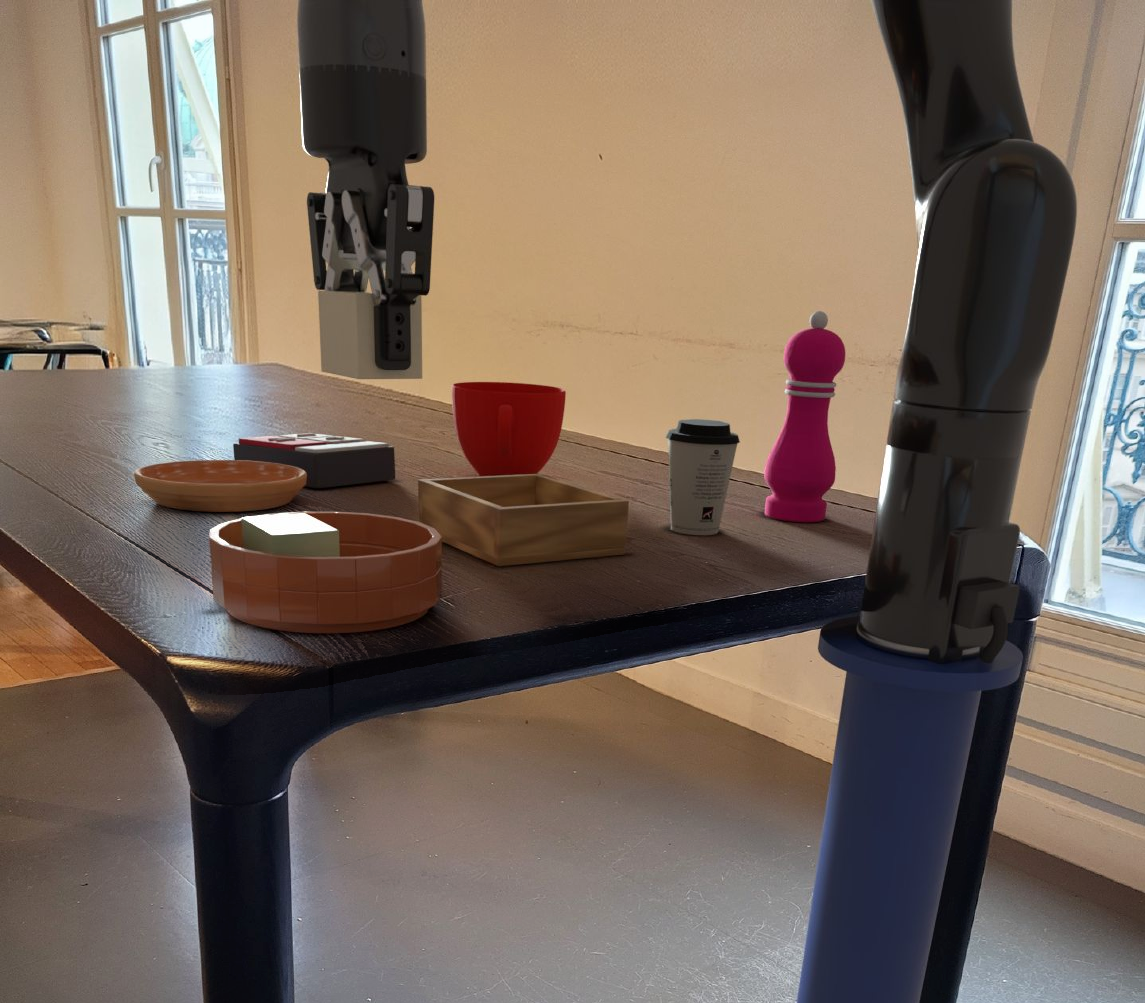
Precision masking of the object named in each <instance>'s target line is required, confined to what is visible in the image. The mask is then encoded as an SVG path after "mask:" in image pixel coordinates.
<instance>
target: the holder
mask: <svg viewBox="0 0 1145 1003" xmlns="http://www.w3.org/2000/svg"><path fill="white" fill-rule="evenodd" d="M417 504H418V505H417V522H420V523H423V524H425V525H427V526H430V527H432V528H434V529H436V530H437V531H438V533H439V534H440V535H441V537H442V543H444V544H447V545H449V546H451V547H453V548H456V549H458V550H460V551H463V552H465V553H467V554H469V555H472V556H474V557H475V558H478V559H481V560H483V561H485V562H487V563H489V564H491V565H494V566H496V567H506V566H508V567H509V566H519V565H528V564H529V565H531V564H539V563H550V562H558V561H559V562H560V561H570V560H580V559H581V560H582V559H591V558H601V557H611V556H612V557H613V556H623V555H625V554H626V546H627V531H628V520H629V519H628V516H629V500H627V499H623V498H620V497H617V496H614V495H610V494H607V493H604V492H600V491H598V490H594V489H591V488H587V487H584V486H581V485H578V484H574V483H572V482H568V481H564V480H560V479H557V478H554V477H551V476H547V475H544V474H541V473H537V474H522V475H501V476H481V477H479V476H463V477H444V478H421V479H417Z"/></svg>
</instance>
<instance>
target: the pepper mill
mask: <svg viewBox="0 0 1145 1003" xmlns="http://www.w3.org/2000/svg"><path fill="white" fill-rule="evenodd" d="M828 322H829V318H828V315H827V314H826V313H825V312H824V311H821V310H818V311H815V312H813V313H812V314H811V315H810V317H809V325H810V327H809V328H805V329H801V330H800V331H799V330H798V331H797V332H795V333H794V334H793V335H792V336H791V337H790V338H789V339H788V341H787V343H786V345H785V348H784V351H783V365H784V368H785V370H786V371H787V373H788V374H789V378H788V379H786V380H785V384H786V386H785V390H784V394H786V395H787V408H786V414H785V419H784V422H783V425H782V428H781V431H780V432H779V434H778V436H777V438H776V440H775V442H774V444H773V447H772V448H771V450H770V451H769V454H768V457H767V459H766V462H765V468H764V472H763V473H764V474H763V475H764V476H763V477H764V481H765V483H766V485H767V486H768V487H769V489H770V491H771V493H772V494H771V495H768V496H767V497H766V498H765V506H764V515H765V516H766V517H768V518H770V519H774V520H778V521H784V522H785V521H786V522H792V523H818V522H822V521H824V520H825V519H826V515H827V514H826V513H827V507H828V502H827V501H826V500H825V499H823V497H824V495H826V493H827V492H828V491H829V490H831V488H832V487H833V486H834V484H835V482H836V472H837V470H836V469H837V467H836V458H835V454H834V451H833V446H832V443H831V439H830V432H829V424H828V423H829V422H828V420H829V409H830V404H831V399H832V398H834V397H835V396H836V393H835V389H836V387H837V383H836V382H835V381H834V379H835V377H836V376H838V374H839V373H840V372H841V371H842V370H843V368H844V367H845V366H844V365H845V362H846V346H845V344H844V341H843V339H842V338H841V337H840V336H839V335H838V334H836V332H833V331H832V330H829V329H826V327H827V326H828Z"/></svg>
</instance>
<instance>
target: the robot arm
mask: <svg viewBox="0 0 1145 1003" xmlns="http://www.w3.org/2000/svg"><path fill="white" fill-rule="evenodd" d="M869 1H870V4H871V7H872V11H873V14H874V17H875V20H876V24H877V28H878V31H879V35H880V37H881V40H882V44H883V46H884V50H885V53H886V55H887V59H888V61H889V65H890V68H891V70H892V71H891V72H892V74H893V77H894V81H895V84H896V88H897V91H898V96H899V100H900V105H901V110H902V116H903V122H904V128H905V135H906V143H907V152H908V158H909V166H910V174H911V184H912V186H911V187H912V194H913V206H914V217H915V218H914V219H915V236H916V245H917V246H916V247H917V251H918V255H917V261H916V267H915V275H914V281H913V287H912V294H911V300H910V305H909V306H910V307H909V313H908V320H907V326H906V329H905V330H906V331H905V335H904V340H903V345H902V348H901V353H900V356H899V361H898V364H897V369H896V370H897V371H896V376H895V385H894V392H893V397H892V398H893V400H892V403H891V410H890V416H889V425H888V430H887V437H886V442H885V443H886V444H885V449H884V455H883V461H882V468H881V474H880V481H879V489H878V495H877V500H876V506H875V514H874V521H873V527H872V534H871V541H870V546H869V554H868V560H867V565H866V566H867V567H866V573H865V580H864V586H863V587H864V588H863V595H862V600H861V610H860V615H859V616H860V621H859V622H858V624H857V631H856V637H857V638H858V639H859V640H860V641H861V642H863V643H864V644H866V645H868V646H870V647H872V648H875V649H877V650H880V651H883V652H887V653H890V654H894V655H899V656H903V657H908V658H915V659H922V660H928V661H931V662H934V663H937V664H948V663H953V662H958V661H963V660H968V659H974V658H980V659H981V660H982V661H984V662H985V663H992V661H993V660H994V658H995V657H996V656H997V655H998V653H999V652H1000V651H1001V649H1002V648H1003V646H1004V644H1005V641H1007V638H1008V633H1009V632H1008V631H1009V627H1008V626H1009V625H1008V624H1011V623H1013V622H1014V618H1015V612H1016V608H1017V604H1018V599H1019V594H1020V589H1021V586H1020V585H1018V584H1014V583H1011V578H1012V574H1013V567H1014V564H1015V559H1016V555H1017V554H1016V553H1017V549H1018V545H1019V538H1020V533H1021V528H1020V526H1019V525H1018V524H1017V523H1014V522H1010V520H1011V513H1012V508H1013V503H1014V499H1015V494H1016V488H1017V483H1018V477H1019V473H1020V467H1021V464H1022V457H1023V453H1024V447H1025V443H1026V438H1027V433H1028V427H1029V423H1030V417H1031V414H1032V410H1031V409H1033V404H1034V400H1035V395H1036V391H1037V387H1038V384H1039V381H1040V378H1041V376H1042V374H1043V371H1044V368H1045V366H1046V364H1047V362H1048V359H1049V358H1048V357H1049V355H1050V351H1051V347H1052V342H1053V338H1054V333H1055V328H1056V324H1057V319H1058V316H1059V311H1060V306H1061V302H1062V297H1063V293H1064V288H1065V283H1066V278H1067V275H1068V270H1069V265H1070V260H1071V255H1072V250H1073V246H1074V239H1075V234H1076V227H1077V217H1078V216H1077V215H1078V200H1077V199H1078V198H1077V193H1076V188H1075V184H1074V181H1073V178H1072V176H1071V174H1070V171H1069V170H1068V168H1067V166H1066V165H1065V164H1064V161H1062V160H1061V159H1060V157H1059V156H1057V155H1056V154H1055V153H1054V152H1053V151H1052V150H1051V149H1048V148H1047V147H1045V146H1043V145H1042V144H1040V143H1037V142H1035V140H1034V136H1033V133H1032V129H1031V126H1030V123H1029V118H1028V114H1027V111H1026V106H1025V101H1024V97H1023V94H1022V93H1023V92H1022V90H1021V86H1020V81H1019V76H1018V70H1017V66H1016V58H1015V57H1016V56H1015V49H1014V36H1013V0H869ZM296 16H297V17H296V21H297V22H296V23H297V24H296V28H297V29H296V31H297V50H298V52H297V54H298V72H299V73H298V75H299V96H300V100H299V101H300V116H301V118H300V120H301V140H302V141H301V142H302V148H303V150H304V151H305V152H306V154H308V156H311V157H314V158H317V159H325V161H326V162H327V163H328V171H327V182H326V188H325V192H308V194H307V197H306V209H307V218H308V230H309V231H308V232H309V239H310V240H309V242H310V251H311V252H310V253H311V262H312V272H313V274H312V275H313V283H314V288H316V290H317V291H345V292H367V290H368V284H369V285H370V286H369V287H370V292H372V295H373V300H374V303H375V304H376V305H380V306H374V344H375V364H376V366H377V367H378V368H379V369H383V370H407V369H408V368H409V367H410V365H411V318H410V306H414V305H415V303H416V299H417V296H419V295H420V296H428V295H429V293H430V290H431V274H432V273H431V272H432V254H433V235H434V218H435V217H434V216H435V192H434V189H433V187H432V186H422V185H411V184H410V183H409V181H408V175H407V170H406V169H407V168H406V165H409V164H410V165H411V164H417V163H420V162H422V161H423V160H424V159H425V158H426V156H427V152H428V130H427V129H428V126H427V123H428V122H427V121H428V120H427V119H428V117H427V113H428V112H427V34H426V32H427V31H426V21H425V19H426V18H425V10H424V5H423V0H297V15H296ZM413 264H414V273H413V269H412V267H413Z"/></svg>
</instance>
